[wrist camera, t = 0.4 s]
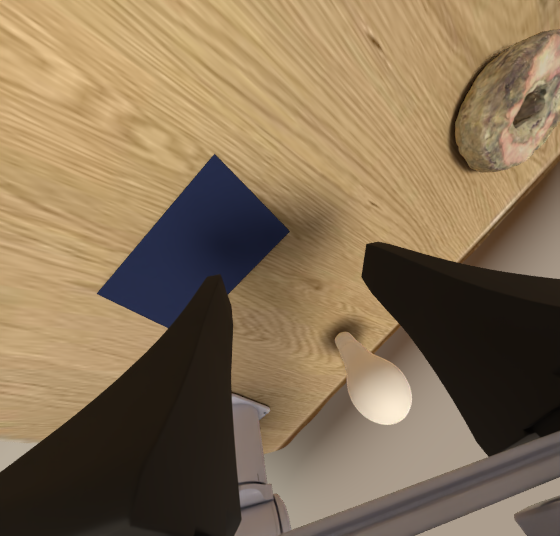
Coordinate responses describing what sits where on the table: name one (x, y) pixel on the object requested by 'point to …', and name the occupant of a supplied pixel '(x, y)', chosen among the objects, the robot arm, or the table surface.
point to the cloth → (196, 246)
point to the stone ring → (512, 105)
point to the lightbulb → (374, 383)
